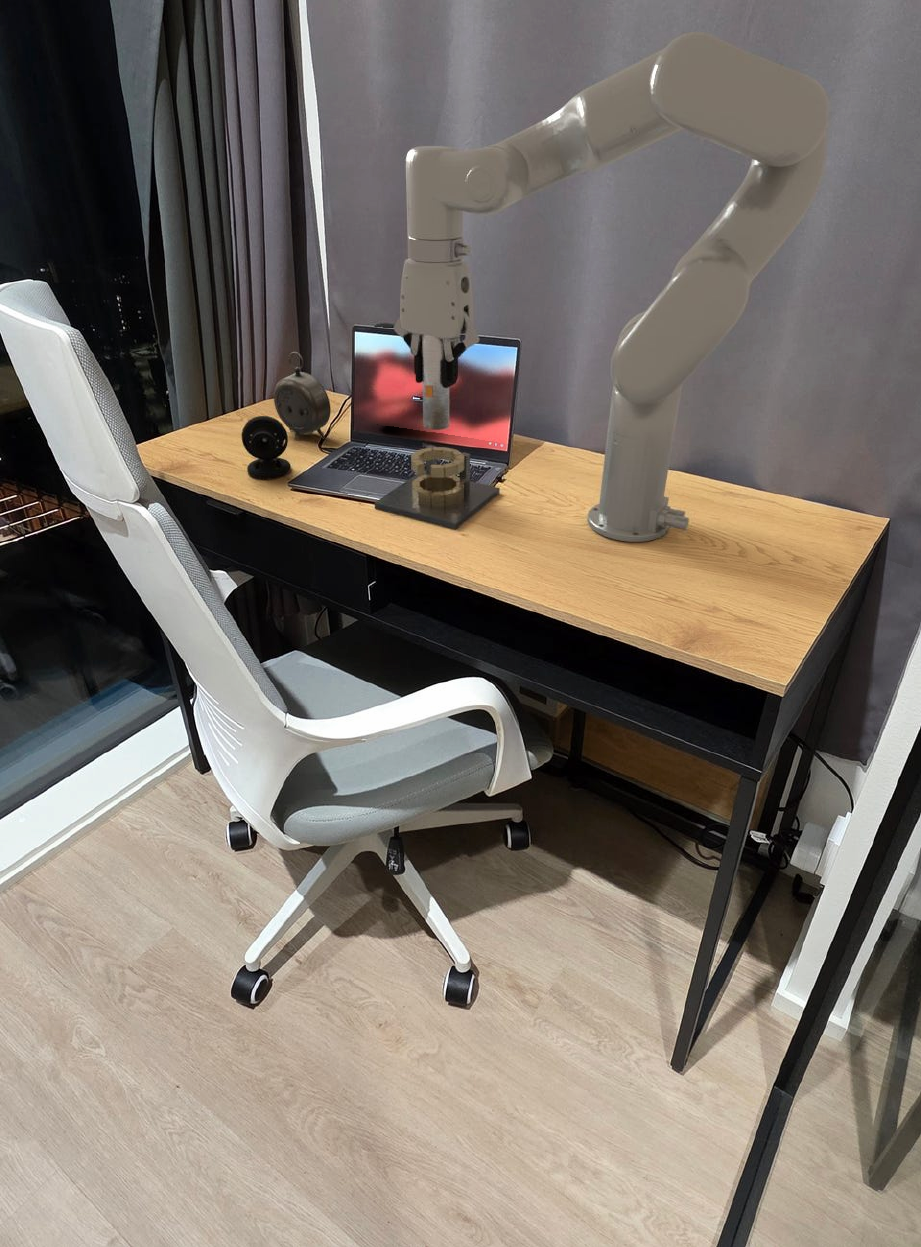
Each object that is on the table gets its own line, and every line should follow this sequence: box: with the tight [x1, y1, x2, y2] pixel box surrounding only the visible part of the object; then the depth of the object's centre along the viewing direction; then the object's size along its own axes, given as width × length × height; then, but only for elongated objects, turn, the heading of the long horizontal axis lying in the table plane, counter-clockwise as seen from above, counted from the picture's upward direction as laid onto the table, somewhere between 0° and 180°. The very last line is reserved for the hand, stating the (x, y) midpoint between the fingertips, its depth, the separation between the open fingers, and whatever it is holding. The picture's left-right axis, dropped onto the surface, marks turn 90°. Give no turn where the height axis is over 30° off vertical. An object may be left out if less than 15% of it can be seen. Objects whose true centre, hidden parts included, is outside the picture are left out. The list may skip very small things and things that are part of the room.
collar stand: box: [374, 444, 501, 531], centre depth 128 cm, size 15×15×8 cm
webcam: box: [241, 415, 292, 480], centre depth 137 cm, size 8×8×10 cm
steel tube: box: [422, 335, 450, 431], centre depth 118 cm, size 4×4×18 cm
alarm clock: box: [273, 351, 332, 441], centre depth 149 cm, size 11×5×16 cm, turn 58°
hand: (436, 381), depth 120 cm, fingers closed on steel tube, 4 cm apart
